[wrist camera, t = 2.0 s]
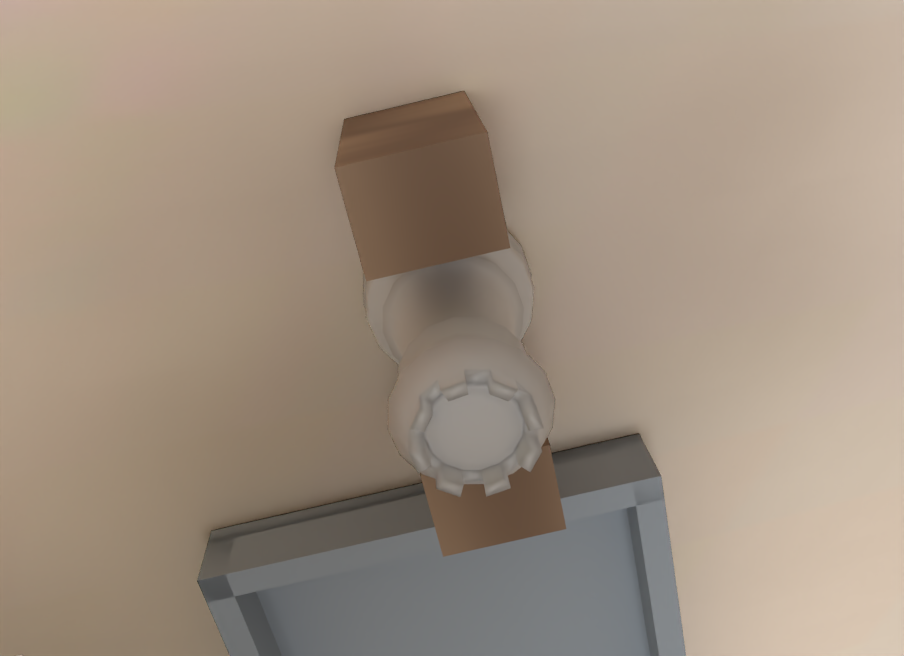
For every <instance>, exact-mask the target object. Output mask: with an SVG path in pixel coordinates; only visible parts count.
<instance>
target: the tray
mask: <svg viewBox="0 0 904 656" xmlns="http://www.w3.org/2000/svg"><path fill="white" fill-rule="evenodd" d="M552 459H553V464H554V469H555V474H556V479H557V484H558V489H559V494H560V499H561V504H562V509H563V514H564V519H565V524H566V529H564V530H560V531H556V532H551V533H547V534H542V535H538V536H533V537H529V538H525V539H520V540H516V541H511V542H507V543H502V544H498V545H494V546H489V547H485V548H480V549H476V550H471V551H467V552H462V553H458V554H454V555H449V556H445V557H443V555H442V551H441V548H440V544H439V540H438V537H437V533H436V530H435V526H434V523H433V519H432V515H431V512H430V508H429V505H428V501H427V497H426V494H425V490H424V487H423V483H420V484H416V485H412V486H407V487H403V488H398V489H394V490H390V491H385V492H381V493H376V494H372V495H368V496H363V497H359V498H354V499H350V500H346V501H341V502H337V503H332V504H328V505H324V506H319V507H315V508H310V509H306V510H302V511H297V512H293V513H288V514H284V515H280V516H275V517H271V518H266V519H262V520H258V521H253V522H249V523H244V524H240V525H236V526H231V527H227V528H222V529H218V530H214V531H211V534H210V538H209V541H208V545H207V548H206V552H205V555H204V559H203V562H202V565H201V569H200V572H199V576H198V579H197V582H198V584H199V586H200V589H201V591H202V593H203V595H204V598H205V600H206V602H207V605H208V607H209V609H210V611H211V614H212V616H213V618H214V621H215V623H216V625H217V627H218V630H219V632H220V634H221V637H222V639H223V641H224V643H225V646H226V648H227V650H228V653H229V655H230V656H686V653H685V645H684V638H683V631H682V624H681V616H680V609H679V602H678V595H677V587H676V580H675V573H674V566H673V558H672V551H671V544H670V537H669V529H668V522H667V515H666V507H665V500H664V493H663V486H662V478H661V475H660V473H659V471H658V469H657V467H656V465H655V463H654V461H653V459H652V458H651V456H650V454H649V452H648V450H647V448H646V446H645V444H644V442H643V440H642V439H641V437H640V435H639V434H636V435H632V436H627V437H623V438H618V439H614V440H610V441H605V442H601V443H596V444H592V445H588V446H583V447H579V448H574V449H570V450H566V451H561V452H557V453H552Z"/></svg>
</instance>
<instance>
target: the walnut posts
mask: <svg viewBox="0 0 904 656" xmlns="http://www.w3.org/2000/svg"><path fill="white" fill-rule="evenodd" d="M335 171H336V175H337V178H338V182H339V186H340V189H341V193H342V196H343V200H344V204H345V207H346V211H347V214H348V218H349V221H350V225H351V229H352V232H353V236H354V239H355V243H356V247H357V250H358V254H359V257H360V261H361V264H362V268H363V272H364V275H365V279H366V281H370V280H375V279H379V278H383V277H388V276H392V275H396V274H401V273H405V272H409V271H414V270H418V269H422V268H426V267H431V266H435V265H439V264H444V263H448V262H452V261H457V260H461V259H465V258H470V257H474V256H478V255H482V254H487V253H491V252H495V251H500V250H504V249H508V248H510V243H509V238H508V233H507V228H506V223H505V218H504V213H503V208H502V203H501V198H500V193H499V188H498V183H497V178H496V173H495V168H494V163H493V158H492V153H491V148H490V143H489V138H488V133H487V130H486V129H485V127H484V125H483V123H482V122H481V120H480V118H479V116H478V115H477V113H476V111H475V109H474V108H473V106H472V104H471V102H470V101H469V99H468V97H467V95H466V94H465V92H464V91H462V92H457V93H453V94H449V95H445V96H440V97H436V98H432V99H428V100H423V101H419V102H415V103H411V104H406V105H402V106H398V107H394V108H390V109H385V110H381V111H377V112H373V113H368V114H364V115H360V116H356V117H351V118H347V119H344V123H343V128H342V133H341V138H340V143H339V148H338V153H337V158H336V163H335ZM541 449H542V453H541V455H540V456H539V458H538V460H537V462H536V463H535V465H534V467H533V469H532V470H531V472H529V471H527V470H526V469H524V468H522V467H521V468H520V469H518V470H517V471H516V472H515V473H513V474H510V475H508V478H509V483H510V487H511V488H510V489H507V490H504V491H501V492H498V493H496V494H493V495H490V496H487V497H486V493H485V487H484V484H464V486H463V489H462V493H461V497H458V496H455V495H453V494H450V493H447V492H444V491H441V490H438V489H436V479H435V478H432V477H429V476H426V475H423V474H422V473H420V476H421V480H422V483H423V487H424V490H425V494H426V497H427V501H428V505H429V508H430V512H431V515H432V519H433V523H434V526H435V530H436V533H437V537H438V540H439V544H440V548H441V551H442V555H443V557H445V556H449V555H454V554H458V553H462V552H467V551H471V550H476V549H480V548H485V547H489V546H494V545H498V544H502V543H507V542H511V541H516V540H520V539H525V538H529V537H533V536H538V535H542V534H547V533H551V532H556V531H560V530H564V529H566V524H565V519H564V514H563V509H562V504H561V499H560V494H559V489H558V484H557V479H556V474H555V469H554V464H553V459H552V454H551V449H550V444H549V441H548V438H546V440H545V442H544V444H543V445H542V447H541Z"/></svg>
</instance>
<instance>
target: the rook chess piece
mask: <svg viewBox="0 0 904 656" xmlns="http://www.w3.org/2000/svg"><path fill="white" fill-rule="evenodd" d="M507 233H508V238H509V243H510V248H508V249H504V250H500V251H495V252H491V253H487V254H482V255H478V256H474V257H470V258H465V259H461V260H457V261H452V262H448V263H444V264H439V265H435V266H431V267H426V268H422V269H418V270H414V271H409V272H405V273H401V274H396V275H392V276H388V277H383V278H379V279H375V280H370V281H366V279H365V275H364V273H363V281H364V307H365V309H366V319H367V321H368V324H369V326H370V328H371V330H372V332H373V335H374V337H375V339H376V341H377V343H378V345H379V347H380V348H381V349H382V350H383V351H384V352H385V353H386V354H387V355H388V356H389V357H390V358H392V359H393V360H394V361H395V362H396V363H397V364H398V365H399V366H398V380H397V382H396V384H395V386H394V388H393V390H392V392H391V394H390V396H389V398H388V431H389V433H390V435H391V437H392V439H393V442H394V444H395V446H396V448H397V450H398V452H399V454H400V456H402V457H403V458H404V459H405V460H406V461H407V462H409V463H410V464H411V465H412V466H413V467H414V468H416V470H417V472H418V473H422V474H423V475H426V476H429V477H432V478H435V479H436V489H438V490H441V491H444V492H447V493H450V494H453V495H455V496H458V497H461V493H462V489H463V486H464V484H484V487H485V493H486V497H487V496H490V495H493V494H496V493H498V492H501V491H504V490H507V489H510V488H511V487H510V483H509V478H508V475H510V474H513V473H515V472H516V471H517V470H518V469H520V468H521V467H522V468H524V469H526V470H527V471H529V472H531V470H532V469H533V467H534V465H535V463H536V462H537V460H538V458H539V456H540V455H541V453H542V449H541V447H542V445H543V444H544V442H545V440H546V438H547V436H548V435H549V433H550V431H551V429H552V427H553V416H554V406H555V397H554V395H553V392H552V389H551V387H550V384H549V381H548V378H547V376H546V373H545V371H544V370H543V369H542V368H541V367H540V366H539V365H538V364H537V363H536V362H535V361H534V360H533V359H532V358H531V357H530V356H528V355H527V354H526V351H525V348H524V346H523V344H522V343H521V340H522V338H523V336H524V334H525V332H526V331H527V329H528V327H529V325H530V323H531V319H532V310H533V297H534V285H533V283H532V280H531V272H530V269H529V266H528V264H527V261H526V258H525V255H524V252H523V250H522V247H521V245H520V244H519V243H518V242H517V241H516V240H515V239H514V238H513V237H512V236H511V234H510V233H509V232H508V231H507Z"/></svg>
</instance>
